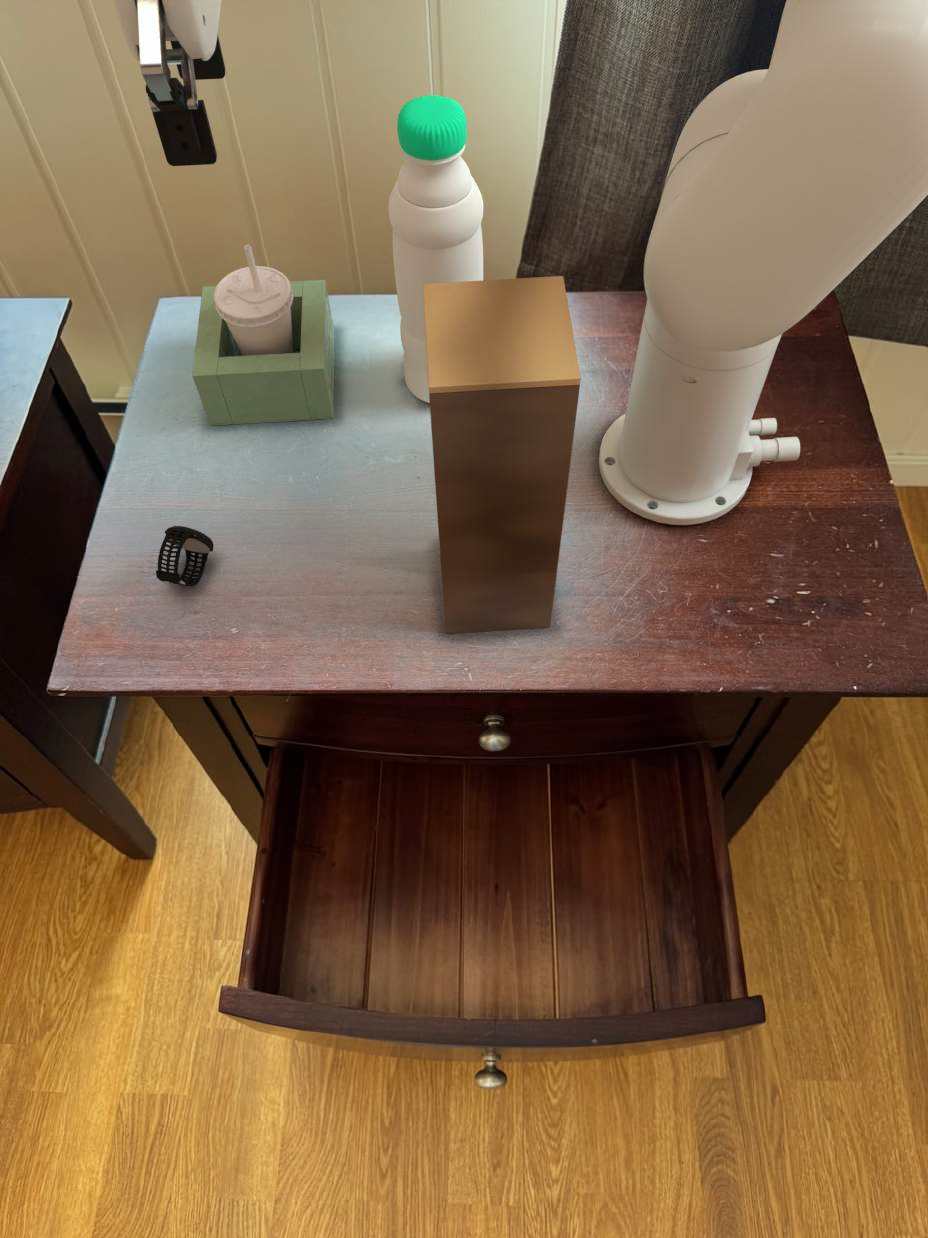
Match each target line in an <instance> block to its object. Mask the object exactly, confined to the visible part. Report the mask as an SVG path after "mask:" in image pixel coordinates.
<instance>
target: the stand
mask: <svg viewBox="0 0 928 1238" xmlns="http://www.w3.org/2000/svg"><path fill="white" fill-rule="evenodd" d="M289 282H290V286H291V289H292V292H293V301H292V305H291V307H290V309H291V325H292V339H293V350H299V351H300V352H293V353H284V354H267V355H250V356H242V355H240V353H241V352H240V350H239V348H238V346H237V344H236V342H235V340H234V338H233V335H232V333H231V331H230V329H229V327H228V325H227V323H226V321H225V320H224V319H223V318H222V317H221V316H220V315H219V314H218V312H217V310H216V303H215V300H214V292H215V289H216V286H217V285H206V286H202V288H201V297H200V305H199V314H198V324H197V332H196V341H195V349H194V356H193V358H194V359H193V367H192V379H193V382H194V384H195V387H196V391H197V393H198V395H199V396H198V397H199V398H200V401H201V404H202V406H203V409H204V412H205V415H206V419H207V420H208V423H209V427H213V426H229V425H245V424H247V425H248V424H263V423H281V422H297V421H310V420H311V421H314V420H315V421H316V420H331V419H335V326H334V321H333V315H332V309H331V304H330V299H329V292H328V287H327V281H326V279H314V280H313V279H312V280H296V281H295V280H293V281H289Z"/></svg>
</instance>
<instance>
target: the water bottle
mask: <svg viewBox="0 0 928 1238" xmlns="http://www.w3.org/2000/svg"><path fill="white" fill-rule="evenodd" d="M396 123H397V124H396V125H397V137H398V142H399V145H400V150H401V153H402V154H403V156H404V157H405V158H406V159H405V161H404V162H403V163H402V165H401V167H400V169H399V172H398V175H397V179H396V181H395V183H394V185H393V187H392V190H391V192H390V195H389V199H388V207H387V209H388V217H389V222H390V224H391V227H392V256H393V257H392V258H393V259H392V260H393V271H394V280H395V289H396V297H397V303H398V308H399V314H400V324H399V325H400V326H399V328H400V329H399V330H400V331H399V332H400V342H401V346H402V350H403V356H402V357H403V359H402V363H403V377H404V381H405V384H406V387H407V389H408V390H409V392H410V393H411V394H412V395H413V396H415V397H416V398H417V399H419V400H420V401H422V402H425V403H427V404H430V399H429V384H428V367H427V350H426V334H425V317H424V300H423V284H429V283H447V282H465V281H482V280H484V246H483V244H484V242H483V231H482V222H483V218H484V198H483V195H482V192H481V191H480V188H479V186H478V184H477V182H476V181H475V179H474V176H472V173H471V170H470V168H469V166H468V164H467V163H466V161H465V160H464V158H463V157H462V155H463V153H464V151H465V149H466V143H467V139H468V123H467V116H466V113H465V110H464V109H463V107H462V105H460V103H459V102H457V101H456V100H455V99H452V98H450V97H447V96H443V95H437V94H434V95H432V94H429V95H423V96H422V95H420V96H419V97H415V98H412V99H411V100H409V101H406V103H405V104H404V105H403V106H402V107H401V109H400V110H399V112H398V116H397V122H396Z"/></svg>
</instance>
